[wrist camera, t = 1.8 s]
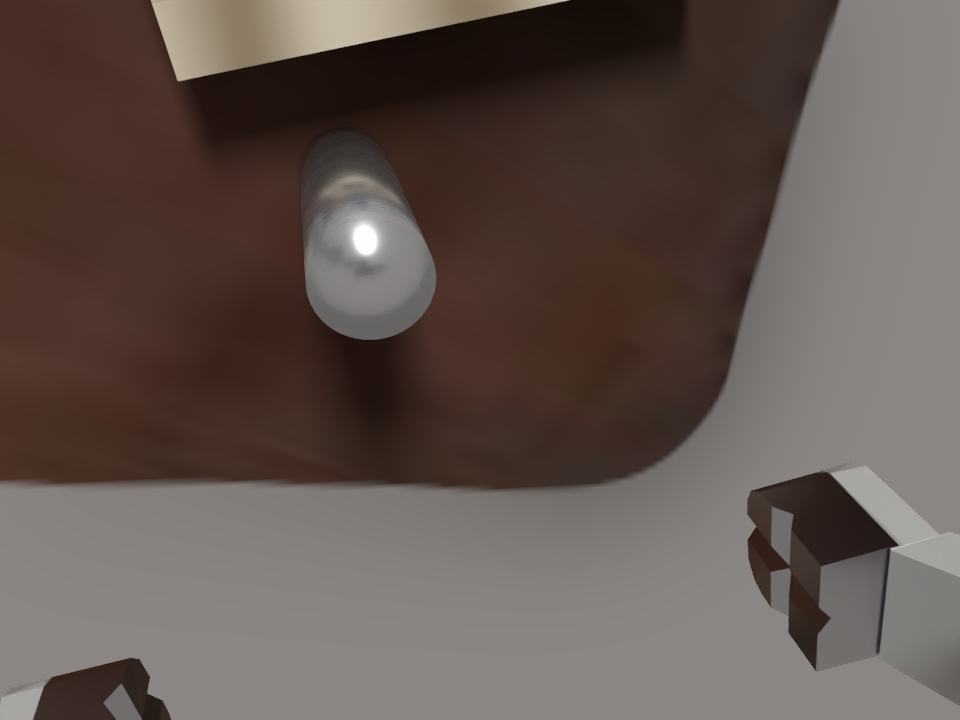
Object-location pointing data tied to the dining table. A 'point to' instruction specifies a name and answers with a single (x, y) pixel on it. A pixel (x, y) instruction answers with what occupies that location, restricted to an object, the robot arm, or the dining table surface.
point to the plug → (360, 239)
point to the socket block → (299, 27)
